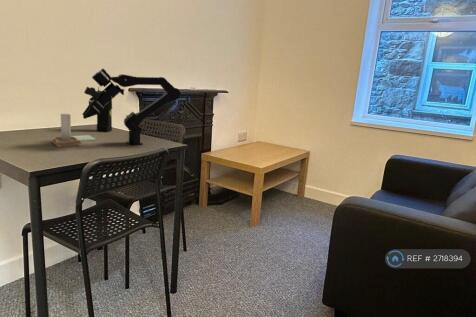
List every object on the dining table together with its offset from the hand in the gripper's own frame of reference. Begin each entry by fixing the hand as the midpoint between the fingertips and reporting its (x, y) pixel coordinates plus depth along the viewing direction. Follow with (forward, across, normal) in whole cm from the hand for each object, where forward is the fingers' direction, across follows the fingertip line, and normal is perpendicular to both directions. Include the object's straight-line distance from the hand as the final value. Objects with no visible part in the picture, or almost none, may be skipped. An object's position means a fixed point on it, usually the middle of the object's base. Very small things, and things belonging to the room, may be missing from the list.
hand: (83, 116), depth 162 cm
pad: (+10, -12, +9) cm, 18 cm away
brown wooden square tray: (+15, 0, +4) cm, 15 cm away
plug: (+15, 0, +4) cm, 15 cm away
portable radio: (+1, -34, +18) cm, 39 cm away
